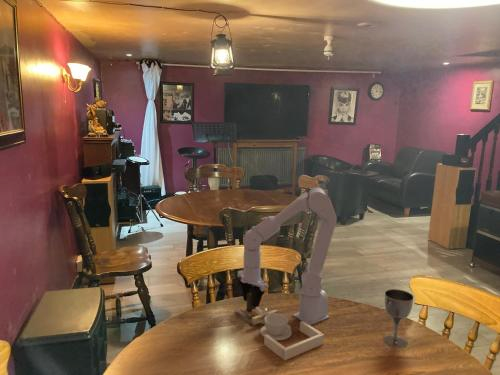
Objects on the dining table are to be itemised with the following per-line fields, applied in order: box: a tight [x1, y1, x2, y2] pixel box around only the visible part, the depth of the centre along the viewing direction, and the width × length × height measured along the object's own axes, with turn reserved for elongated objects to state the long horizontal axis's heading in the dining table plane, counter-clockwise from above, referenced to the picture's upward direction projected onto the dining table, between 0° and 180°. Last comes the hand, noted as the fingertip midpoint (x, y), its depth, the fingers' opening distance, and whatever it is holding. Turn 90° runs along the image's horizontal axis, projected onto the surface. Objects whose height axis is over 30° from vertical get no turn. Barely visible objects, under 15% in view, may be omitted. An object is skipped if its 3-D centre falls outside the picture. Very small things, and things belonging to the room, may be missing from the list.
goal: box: [263, 320, 325, 361], centre depth 119 cm, size 15×10×3 cm, turn 125°
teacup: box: [259, 313, 293, 341], centre depth 126 cm, size 10×10×5 cm
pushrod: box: [239, 293, 280, 326], centre depth 135 cm, size 10×12×7 cm
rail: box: [234, 306, 268, 326], centre depth 136 cm, size 8×11×1 cm
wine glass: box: [382, 288, 414, 348], centre depth 121 cm, size 8×8×15 cm
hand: (251, 303), depth 137 cm, fingers open, 5 cm apart
